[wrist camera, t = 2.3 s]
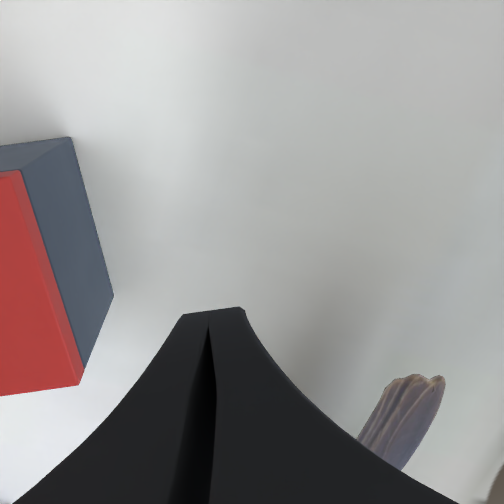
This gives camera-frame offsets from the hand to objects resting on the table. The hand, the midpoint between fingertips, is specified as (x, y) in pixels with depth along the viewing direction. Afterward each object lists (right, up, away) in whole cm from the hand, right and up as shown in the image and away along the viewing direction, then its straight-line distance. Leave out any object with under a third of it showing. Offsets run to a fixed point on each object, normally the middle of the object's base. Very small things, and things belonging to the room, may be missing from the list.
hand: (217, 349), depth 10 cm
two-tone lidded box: (-9, +3, +9) cm, 13 cm away
